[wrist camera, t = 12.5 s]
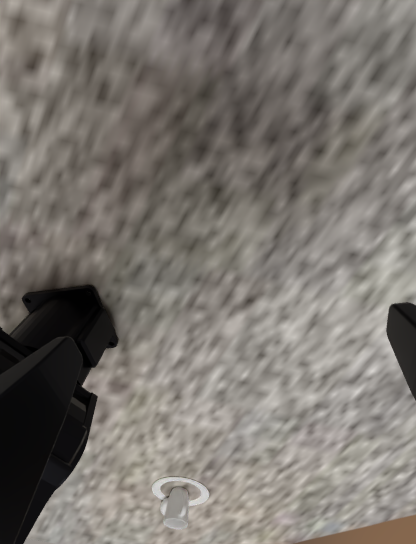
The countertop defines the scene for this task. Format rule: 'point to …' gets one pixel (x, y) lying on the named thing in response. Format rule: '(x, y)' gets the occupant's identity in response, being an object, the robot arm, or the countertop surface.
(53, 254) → the countertop surface
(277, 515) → the countertop surface
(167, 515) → the white ring with post
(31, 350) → the robot arm
